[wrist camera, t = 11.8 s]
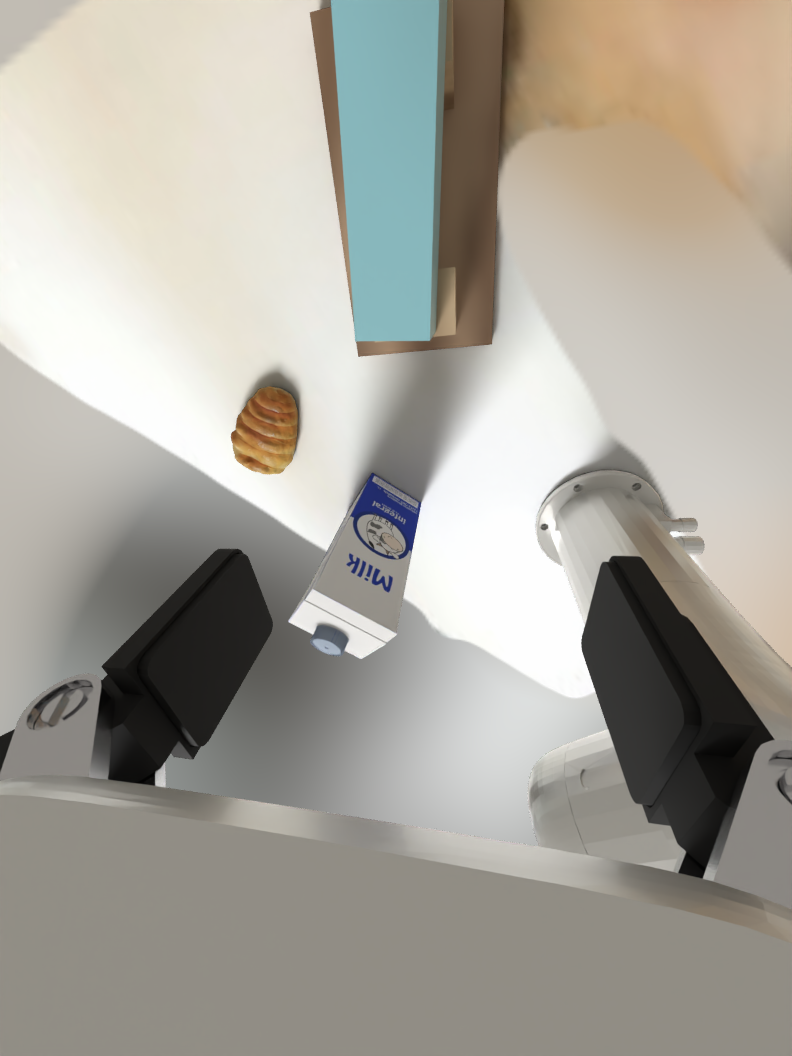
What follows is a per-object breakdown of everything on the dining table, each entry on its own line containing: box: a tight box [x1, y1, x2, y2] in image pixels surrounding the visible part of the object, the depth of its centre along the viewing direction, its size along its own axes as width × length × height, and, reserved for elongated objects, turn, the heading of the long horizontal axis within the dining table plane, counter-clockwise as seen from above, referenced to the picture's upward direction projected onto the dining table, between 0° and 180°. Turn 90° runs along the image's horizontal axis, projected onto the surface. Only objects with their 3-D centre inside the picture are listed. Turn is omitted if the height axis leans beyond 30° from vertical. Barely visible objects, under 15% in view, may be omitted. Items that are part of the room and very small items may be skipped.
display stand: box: [310, 0, 504, 357], centre depth 25 cm, size 12×20×8 cm, turn 6°
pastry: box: [231, 386, 298, 474], centre depth 39 cm, size 9×7×4 cm
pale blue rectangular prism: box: [331, 0, 447, 341], centre depth 20 cm, size 4×16×6 cm, turn 1°
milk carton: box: [289, 473, 421, 659], centre depth 35 cm, size 7×7×20 cm
